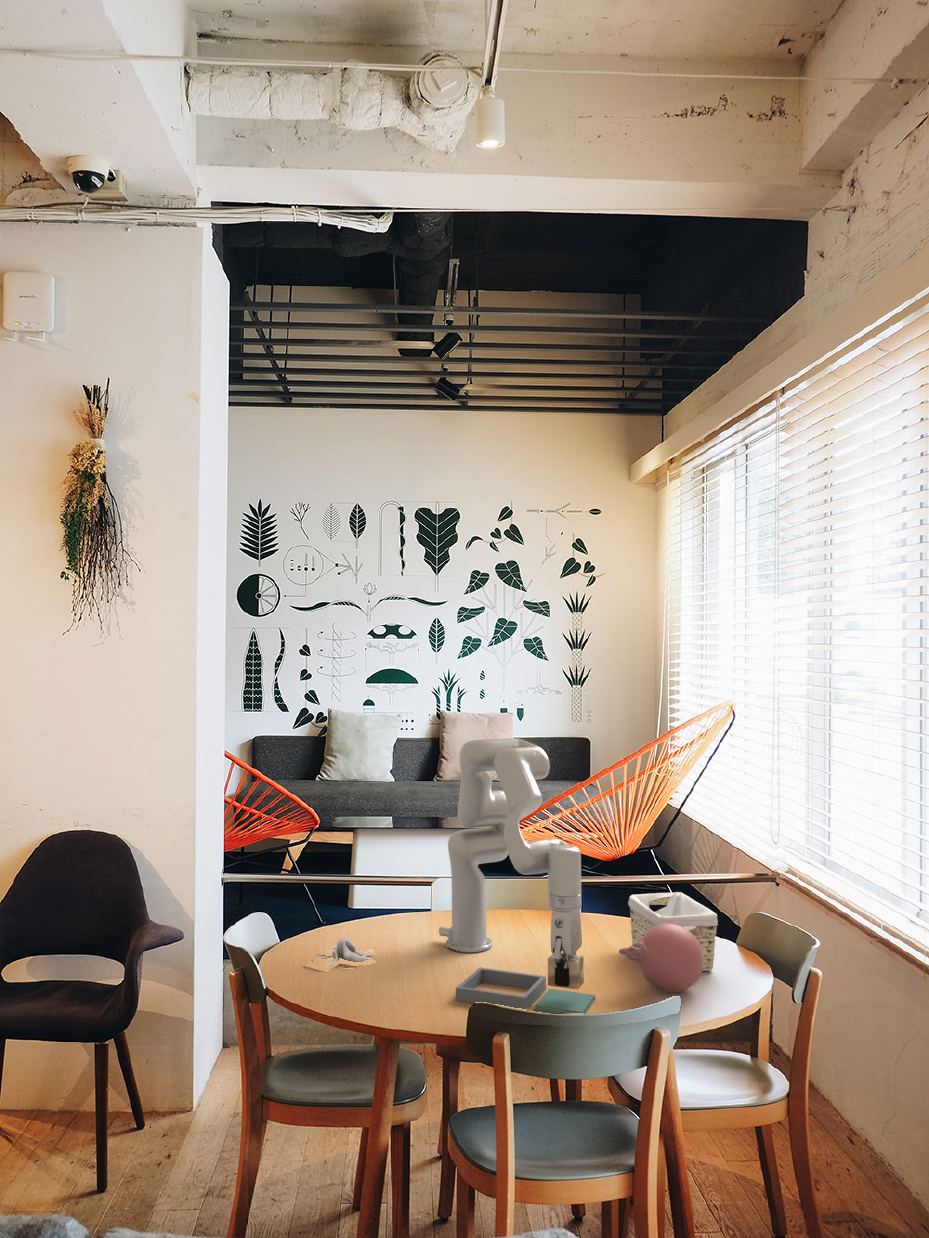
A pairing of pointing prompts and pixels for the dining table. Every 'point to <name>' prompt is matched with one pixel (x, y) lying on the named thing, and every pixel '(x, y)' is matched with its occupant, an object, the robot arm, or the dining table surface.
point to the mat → (565, 1001)
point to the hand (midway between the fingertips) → (565, 980)
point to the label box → (574, 971)
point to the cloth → (346, 952)
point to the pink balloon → (668, 957)
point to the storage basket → (675, 919)
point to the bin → (534, 982)
